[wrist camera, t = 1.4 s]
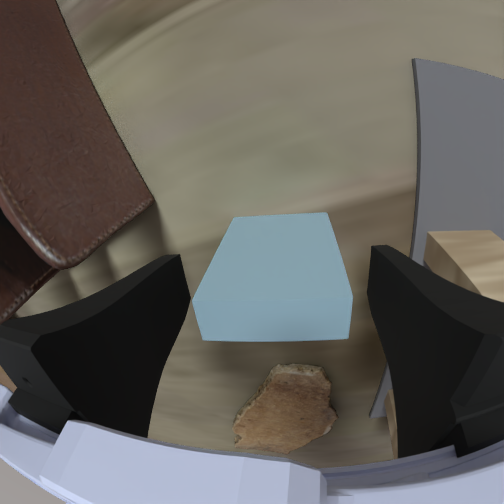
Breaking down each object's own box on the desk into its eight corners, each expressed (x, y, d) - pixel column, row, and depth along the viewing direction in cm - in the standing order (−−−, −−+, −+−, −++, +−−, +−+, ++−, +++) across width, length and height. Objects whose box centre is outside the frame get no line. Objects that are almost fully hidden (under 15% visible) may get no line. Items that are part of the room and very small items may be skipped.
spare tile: (233, 217, 15) (191, 300, 8) (326, 212, 14) (352, 296, 8) (237, 246, 15) (202, 340, 9) (327, 242, 15) (348, 338, 8)
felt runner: (512, 83, 9) (516, 83, 8) (438, 403, 20) (439, 406, 20) (411, 59, 10) (415, 58, 9) (369, 414, 21) (369, 418, 21)
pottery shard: (215, 433, 26) (211, 447, 24) (282, 346, 19) (280, 366, 17) (282, 451, 27) (281, 464, 25) (374, 375, 19) (377, 393, 18)
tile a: (427, 231, 13) (497, 315, 7) (490, 230, 12) (563, 298, 6) (423, 259, 14) (481, 349, 8) (485, 255, 13) (549, 329, 7)
